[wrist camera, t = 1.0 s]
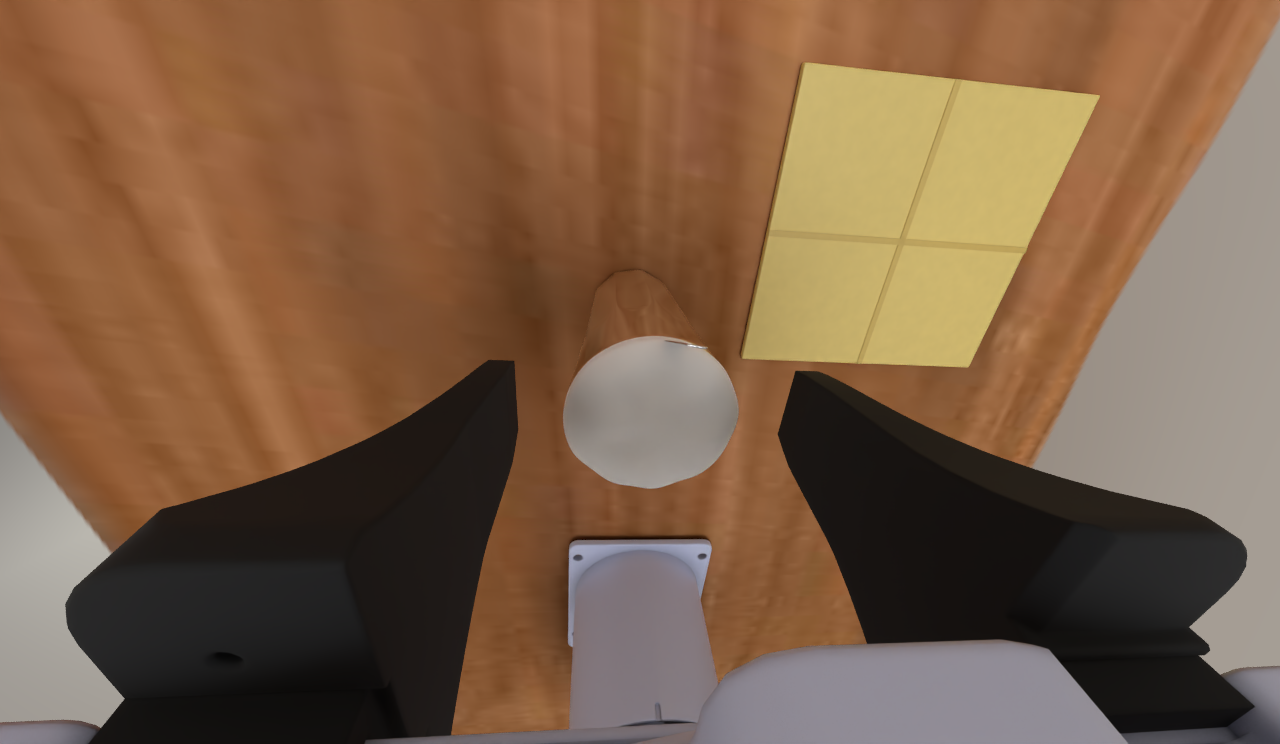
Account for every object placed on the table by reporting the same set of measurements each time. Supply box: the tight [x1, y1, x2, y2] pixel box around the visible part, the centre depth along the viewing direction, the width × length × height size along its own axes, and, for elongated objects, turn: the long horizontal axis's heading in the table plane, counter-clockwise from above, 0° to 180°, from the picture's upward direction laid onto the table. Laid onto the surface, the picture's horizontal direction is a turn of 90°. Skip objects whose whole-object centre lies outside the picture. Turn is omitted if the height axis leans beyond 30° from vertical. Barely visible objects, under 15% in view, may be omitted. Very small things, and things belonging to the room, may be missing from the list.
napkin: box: [741, 62, 1100, 367], centre depth 18 cm, size 11×11×1 cm
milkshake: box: [563, 269, 739, 489], centre depth 14 cm, size 5×5×10 cm
